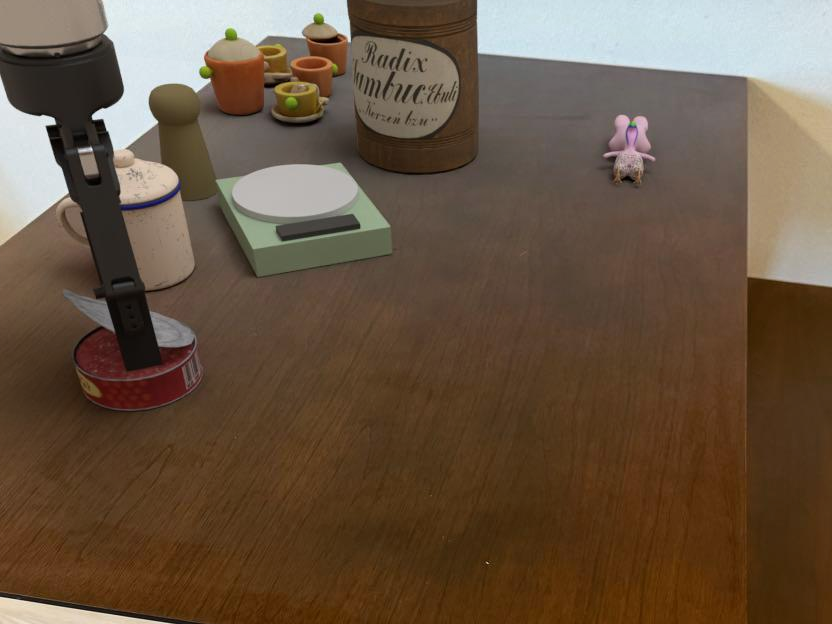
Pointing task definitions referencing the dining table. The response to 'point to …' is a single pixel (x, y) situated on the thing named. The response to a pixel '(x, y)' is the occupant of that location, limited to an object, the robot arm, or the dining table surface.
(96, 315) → the canned food
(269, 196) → the kitchen scale
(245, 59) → the toy tea set
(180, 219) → the teacup with lid
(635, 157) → the pink plush toy
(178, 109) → the pepper mill
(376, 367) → the dining table surface
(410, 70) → the wooden container
